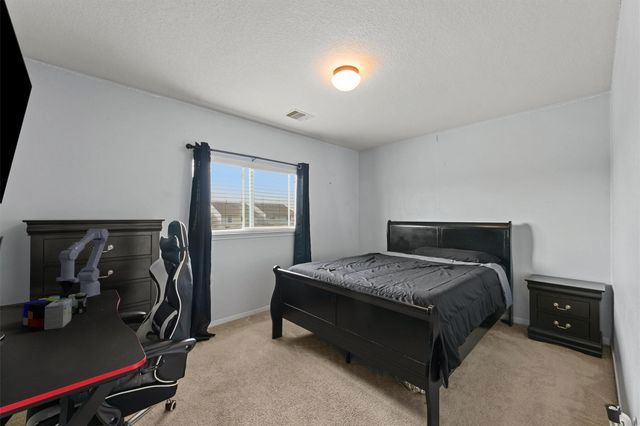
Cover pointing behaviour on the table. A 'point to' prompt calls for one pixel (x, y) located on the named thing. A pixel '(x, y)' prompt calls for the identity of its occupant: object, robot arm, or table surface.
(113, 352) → the table surface
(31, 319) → the puzzle toy
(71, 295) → the grey block
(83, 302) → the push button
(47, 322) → the light bulb box
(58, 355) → the table surface
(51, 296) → the gray block
